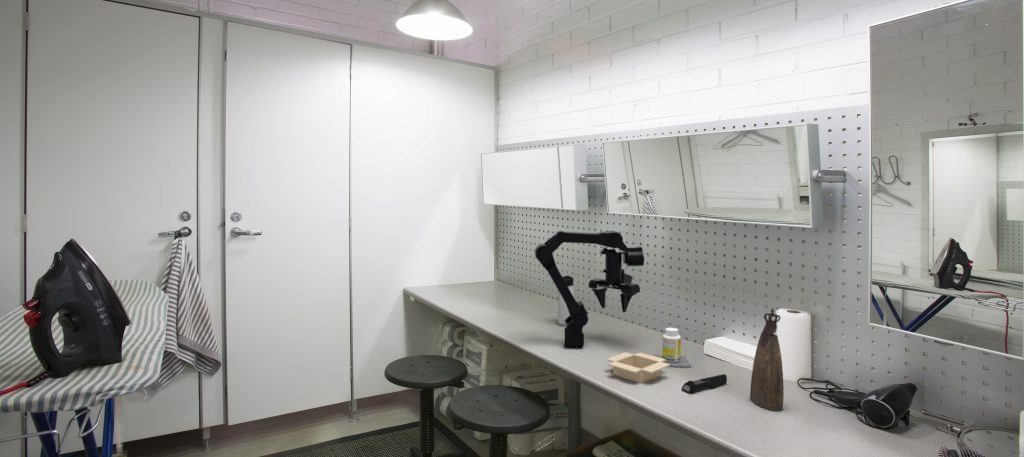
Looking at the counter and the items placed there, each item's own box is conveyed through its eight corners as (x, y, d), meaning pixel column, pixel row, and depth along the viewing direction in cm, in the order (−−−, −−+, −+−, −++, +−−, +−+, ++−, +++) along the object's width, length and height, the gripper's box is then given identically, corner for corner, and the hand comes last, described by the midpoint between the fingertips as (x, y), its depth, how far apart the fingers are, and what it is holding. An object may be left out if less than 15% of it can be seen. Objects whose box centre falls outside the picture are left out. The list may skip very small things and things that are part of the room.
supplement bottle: (675, 357, 173) (675, 326, 172) (683, 362, 168) (684, 330, 167) (659, 358, 172) (659, 327, 171) (667, 363, 167) (667, 331, 166)
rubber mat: (658, 366, 166) (658, 364, 166) (654, 356, 175) (654, 355, 175) (691, 368, 164) (691, 366, 164) (685, 357, 174) (685, 356, 174)
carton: (599, 374, 159) (599, 361, 159) (631, 362, 170) (631, 350, 170) (644, 388, 147) (644, 374, 147) (675, 375, 158) (675, 361, 158)
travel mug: (575, 323, 221) (575, 275, 219) (571, 327, 214) (571, 278, 213) (560, 322, 223) (560, 275, 221) (556, 326, 216) (556, 277, 215)
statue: (788, 403, 137) (788, 308, 134) (780, 413, 131) (780, 315, 128) (753, 395, 142) (752, 304, 140) (744, 405, 136) (743, 311, 134)
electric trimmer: (730, 386, 150) (730, 375, 150) (690, 395, 143) (690, 384, 143) (720, 382, 153) (720, 371, 153) (680, 391, 146) (680, 380, 146)
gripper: (649, 266, 184) (649, 310, 185) (607, 261, 198) (607, 302, 199) (630, 270, 177) (630, 315, 178) (587, 265, 191) (587, 307, 192)
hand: (613, 310), depth 187 cm, fingers open, 9 cm apart
